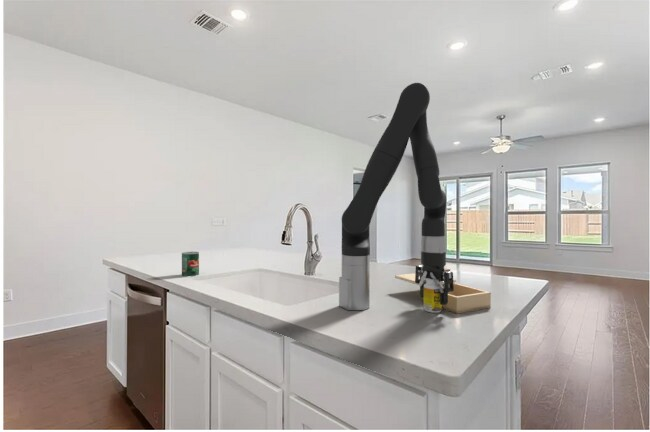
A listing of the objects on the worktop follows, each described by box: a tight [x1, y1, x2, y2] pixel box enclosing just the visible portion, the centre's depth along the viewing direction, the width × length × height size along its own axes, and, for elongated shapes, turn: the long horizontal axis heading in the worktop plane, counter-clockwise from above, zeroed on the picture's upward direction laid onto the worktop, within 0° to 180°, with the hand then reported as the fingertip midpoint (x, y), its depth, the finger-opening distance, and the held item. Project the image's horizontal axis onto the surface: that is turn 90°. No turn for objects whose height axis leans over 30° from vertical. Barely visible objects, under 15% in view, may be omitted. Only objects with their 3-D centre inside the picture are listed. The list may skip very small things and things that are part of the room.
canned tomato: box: [181, 251, 200, 277], centre depth 159 cm, size 8×8×11 cm
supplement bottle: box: [422, 278, 443, 314], centre depth 103 cm, size 6×6×10 cm
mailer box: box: [422, 282, 492, 315], centre depth 110 cm, size 15×15×5 cm
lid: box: [394, 267, 457, 286], centre depth 123 cm, size 16×16×5 cm
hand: (433, 301), depth 103 cm, fingers open, 8 cm apart
